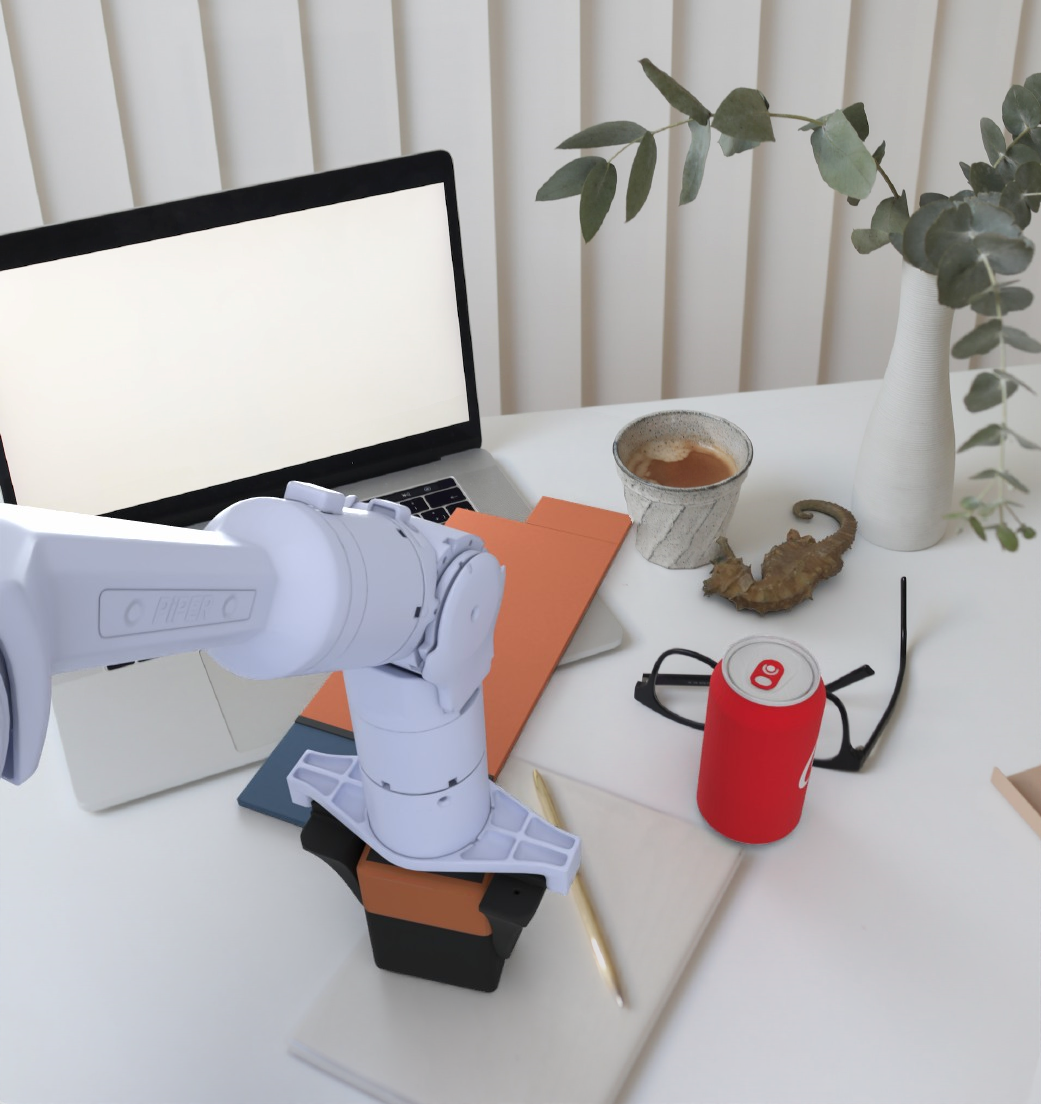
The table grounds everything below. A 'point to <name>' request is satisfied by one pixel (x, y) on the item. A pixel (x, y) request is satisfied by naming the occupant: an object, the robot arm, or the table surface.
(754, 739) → the beverage can
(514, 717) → the sorting mat
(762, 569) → the seahorse
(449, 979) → the battery
